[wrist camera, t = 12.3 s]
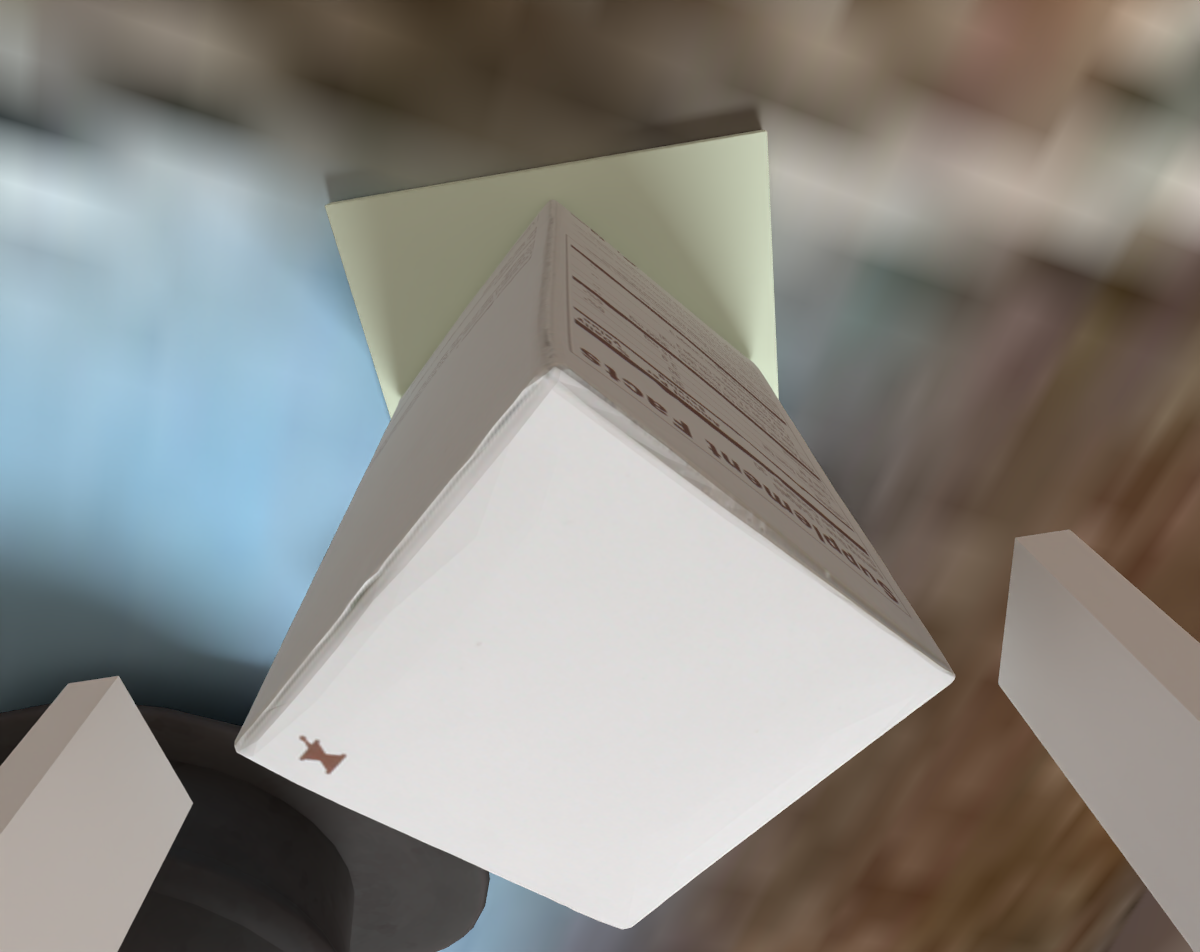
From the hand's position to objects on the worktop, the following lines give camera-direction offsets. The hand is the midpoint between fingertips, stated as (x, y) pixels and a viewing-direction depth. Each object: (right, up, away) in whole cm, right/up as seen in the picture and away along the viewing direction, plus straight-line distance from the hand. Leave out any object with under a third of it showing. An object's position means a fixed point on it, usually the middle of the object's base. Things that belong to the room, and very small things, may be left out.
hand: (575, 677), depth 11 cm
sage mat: (0, +6, +10) cm, 12 cm away
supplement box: (0, +6, +10) cm, 12 cm away
